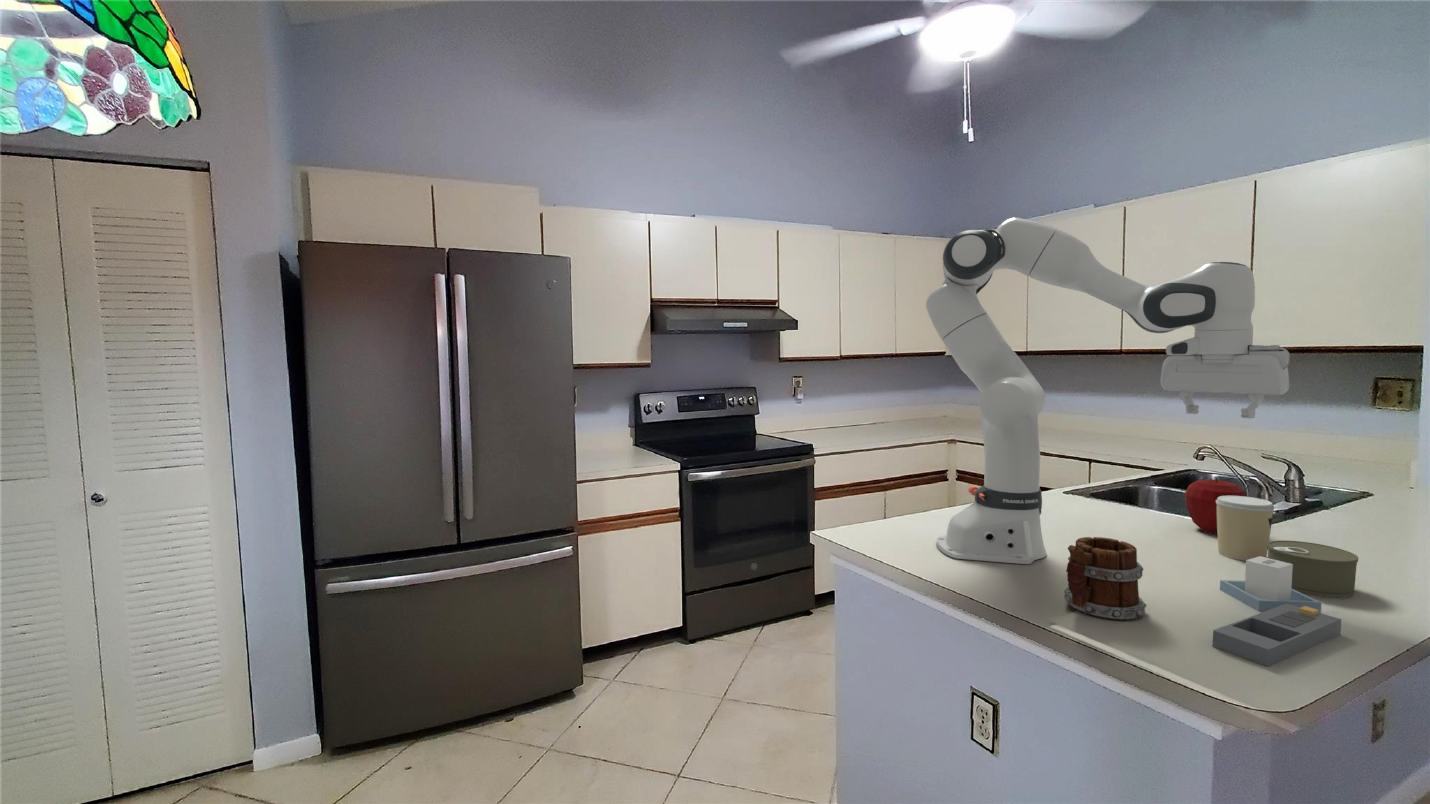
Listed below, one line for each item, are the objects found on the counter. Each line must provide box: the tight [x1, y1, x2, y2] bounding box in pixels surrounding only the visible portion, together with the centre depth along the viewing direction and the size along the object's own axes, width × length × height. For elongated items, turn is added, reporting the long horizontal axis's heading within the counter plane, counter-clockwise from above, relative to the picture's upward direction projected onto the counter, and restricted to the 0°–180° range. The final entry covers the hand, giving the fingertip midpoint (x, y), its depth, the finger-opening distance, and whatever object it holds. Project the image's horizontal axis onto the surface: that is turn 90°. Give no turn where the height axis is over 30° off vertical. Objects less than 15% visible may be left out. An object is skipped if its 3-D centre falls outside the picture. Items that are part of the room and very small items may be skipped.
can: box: [1267, 540, 1359, 599], centre depth 112 cm, size 12×12×7 cm
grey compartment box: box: [1211, 603, 1342, 667], centre depth 91 cm, size 25×6×4 cm, turn 115°
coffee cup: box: [1216, 496, 1275, 562], centre depth 129 cm, size 9×9×12 cm
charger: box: [1244, 556, 1293, 600], centre depth 104 cm, size 4×4×7 cm
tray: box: [1219, 579, 1322, 613], centre depth 104 cm, size 9×9×3 cm
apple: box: [1184, 476, 1248, 534], centre depth 146 cm, size 12×12×13 cm
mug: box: [1063, 536, 1147, 622], centre depth 102 cm, size 12×14×15 cm
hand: (1218, 415), depth 120 cm, fingers open, 8 cm apart
